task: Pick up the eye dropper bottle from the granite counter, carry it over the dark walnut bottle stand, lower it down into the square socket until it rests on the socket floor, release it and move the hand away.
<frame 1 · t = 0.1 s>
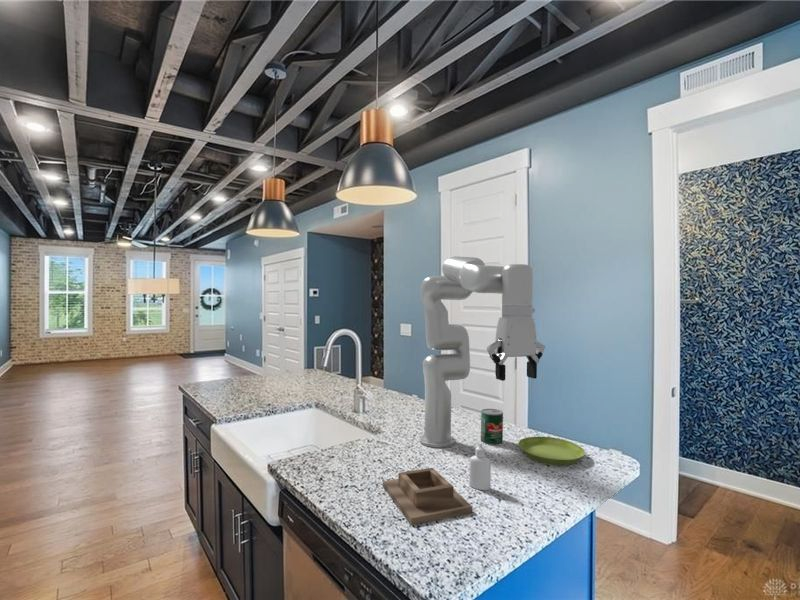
hand: (516, 378, 104), 31 cm above the worktop, tool pointing down, fingers open, 9 cm apart
saucer: (550, 457, 134), on the worktop
bottle stand: (424, 498, 103), on the worktop
canned tomato: (491, 442, 147), on the worktop
eye dropper bottle: (479, 487, 110), on the worktop
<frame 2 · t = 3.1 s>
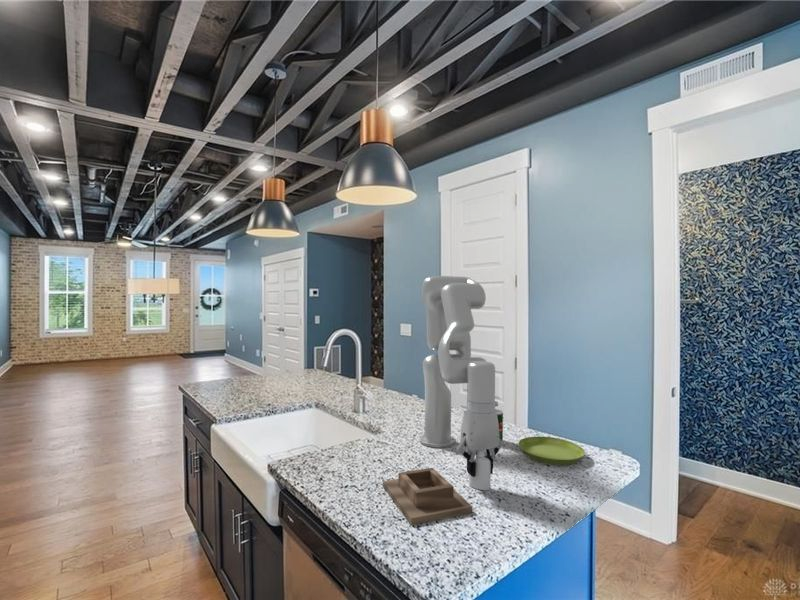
hand: (480, 472, 110), 4 cm above the worktop, tool pointing down, fingers closed on eye dropper bottle, 4 cm apart
eye dropper bottle: (479, 487, 110), on the worktop, touching gripper
everything else where it was.
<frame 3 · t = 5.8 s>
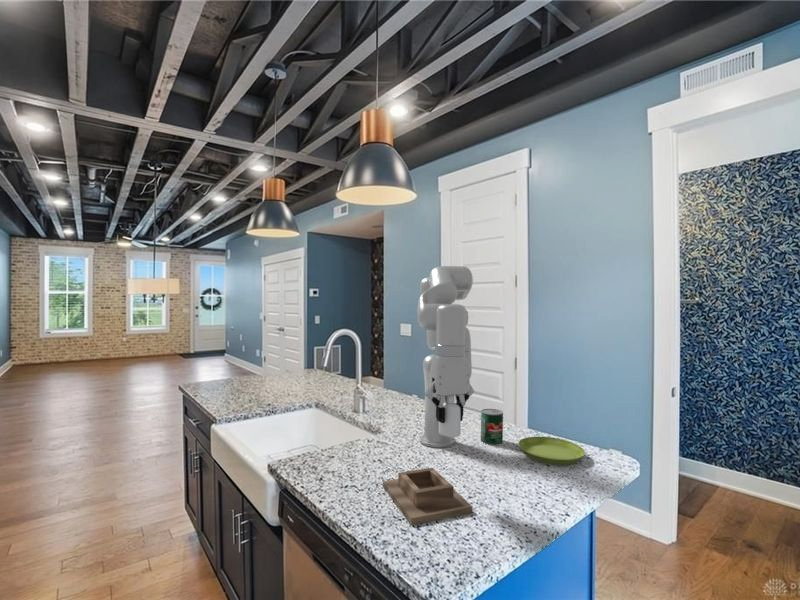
hand: (449, 420, 106), 19 cm above the worktop, tool pointing down, fingers closed on eye dropper bottle, 4 cm apart
eye dropper bottle: (449, 435, 106), point 15 cm above the worktop, touching gripper
everything else where it was.
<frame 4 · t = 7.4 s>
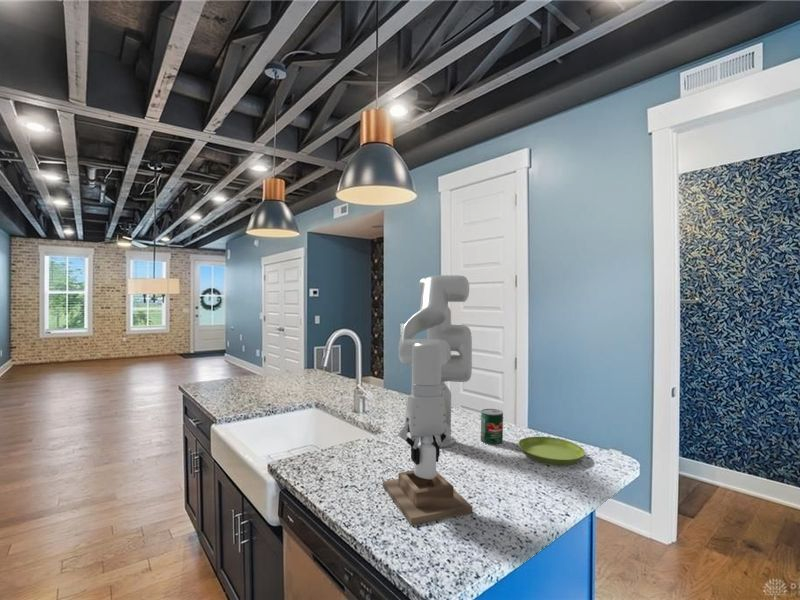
hand: (425, 460, 103), 10 cm above the worktop, tool pointing down, fingers closed on eye dropper bottle, 4 cm apart
eye dropper bottle: (425, 476, 103), point 6 cm above the worktop, touching gripper
everything else where it was.
when the fingers open (6 cm above the worktop, at t = 8.4 s): eye dropper bottle moves 1 cm, resting on bottle stand.
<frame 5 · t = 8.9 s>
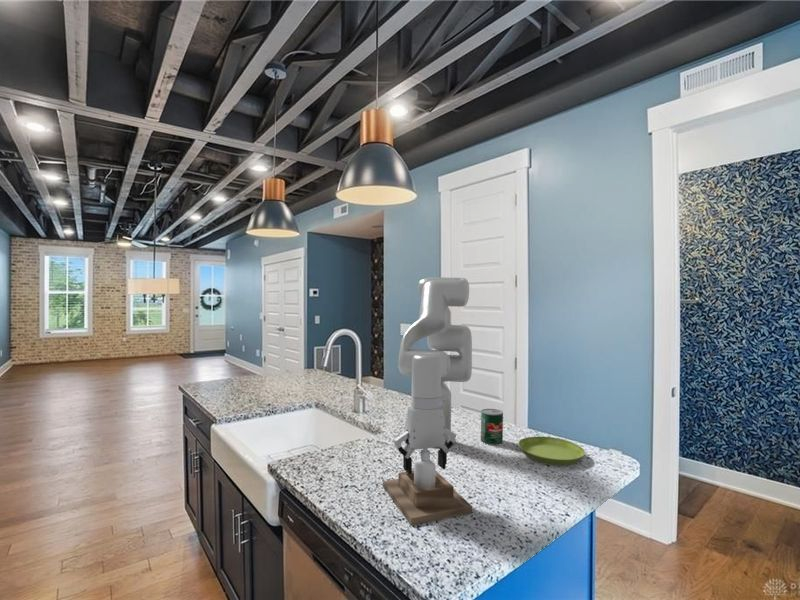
hand: (425, 469, 103), 8 cm above the worktop, tool pointing down, fingers open, 9 cm apart
eye dropper bottle: (424, 493, 103), point 1 cm above the worktop, touching bottle stand
everything else where it was.
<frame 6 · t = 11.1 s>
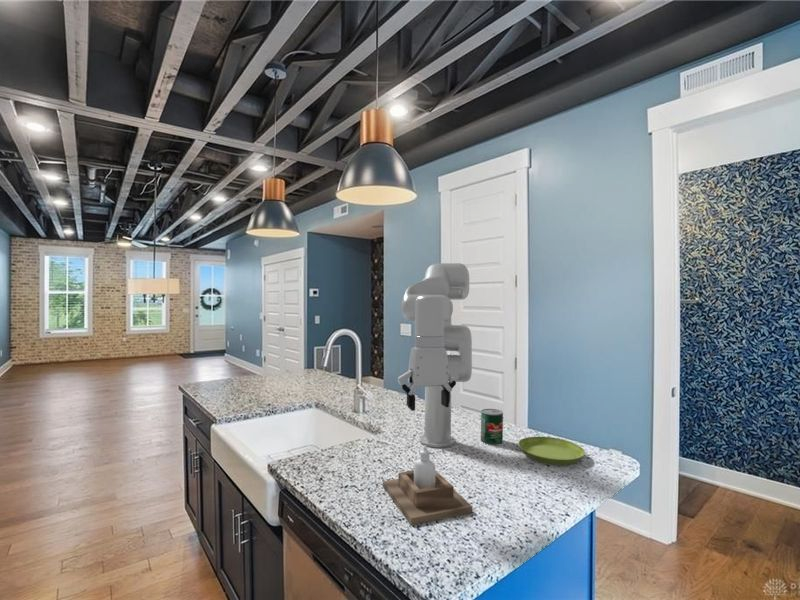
hand: (428, 407, 106), 23 cm above the worktop, tool pointing down, fingers open, 9 cm apart
nothing on the worktop moved.
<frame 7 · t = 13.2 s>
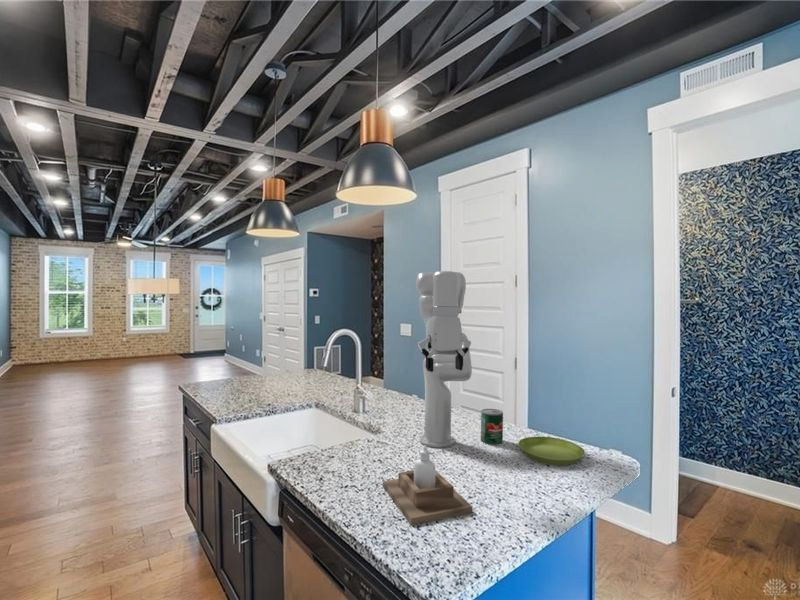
hand: (444, 370, 120), 30 cm above the worktop, tool pointing down, fingers open, 9 cm apart
nothing on the worktop moved.
at the end: eye dropper bottle 0.2 cm off-centre on the bottle stand, point 1.3 cm above the bottle stand's base; eye dropper bottle tilted 0°; the gripper is holding nothing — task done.
